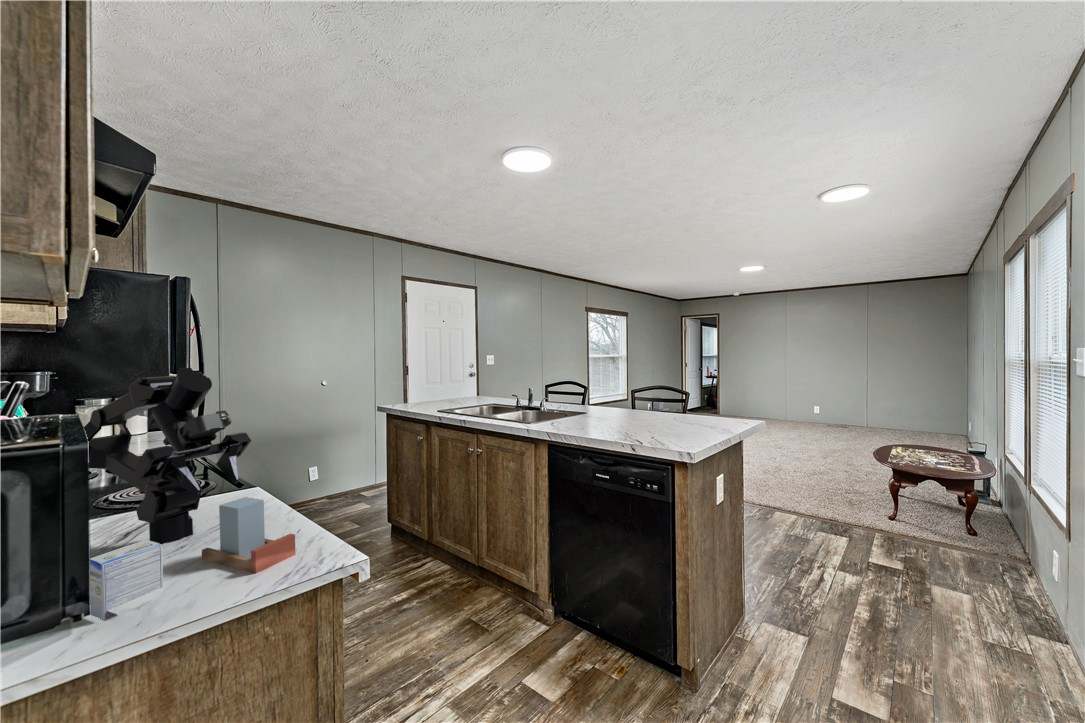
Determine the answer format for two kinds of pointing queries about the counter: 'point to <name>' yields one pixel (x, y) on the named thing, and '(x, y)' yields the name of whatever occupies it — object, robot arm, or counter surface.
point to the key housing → (255, 555)
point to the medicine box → (124, 576)
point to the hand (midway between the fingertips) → (218, 487)
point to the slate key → (242, 526)
